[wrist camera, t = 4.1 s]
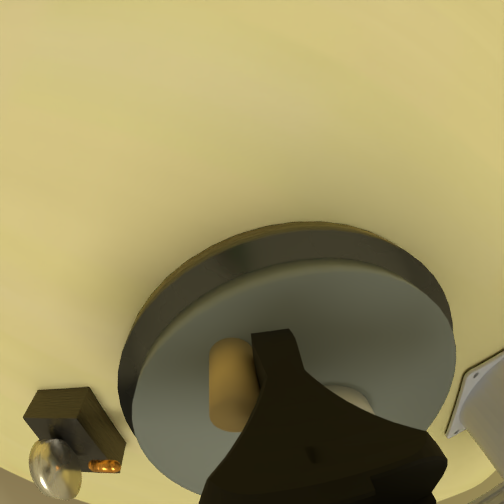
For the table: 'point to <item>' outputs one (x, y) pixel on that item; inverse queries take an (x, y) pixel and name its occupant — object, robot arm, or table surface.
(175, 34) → the table surface
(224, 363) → the disc
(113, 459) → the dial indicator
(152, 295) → the plinth
